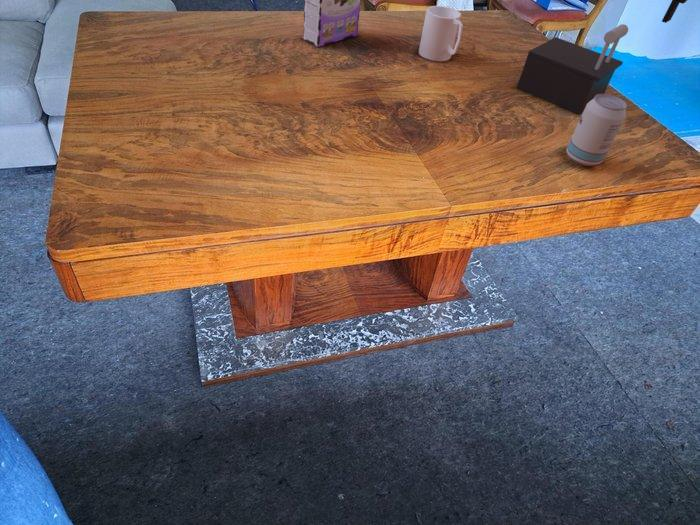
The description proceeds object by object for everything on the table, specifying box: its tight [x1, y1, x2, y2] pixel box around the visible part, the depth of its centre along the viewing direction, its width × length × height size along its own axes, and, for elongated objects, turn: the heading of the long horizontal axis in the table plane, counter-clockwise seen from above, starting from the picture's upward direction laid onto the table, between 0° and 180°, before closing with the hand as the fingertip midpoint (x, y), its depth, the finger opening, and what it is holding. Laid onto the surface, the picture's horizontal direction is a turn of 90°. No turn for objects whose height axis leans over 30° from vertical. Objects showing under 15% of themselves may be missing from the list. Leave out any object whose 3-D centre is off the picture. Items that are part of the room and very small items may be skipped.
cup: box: [418, 5, 464, 62], centre depth 123 cm, size 8×12×10 cm
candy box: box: [302, 0, 362, 48], centre depth 123 cm, size 14×6×16 cm, turn 134°
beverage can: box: [565, 93, 628, 167], centre depth 94 cm, size 7×7×12 cm
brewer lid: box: [527, 23, 629, 81], centre depth 110 cm, size 16×14×9 cm
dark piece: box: [516, 54, 616, 115], centre depth 116 cm, size 16×14×8 cm
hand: (629, 9), depth 95 cm, fingers open, 13 cm apart
